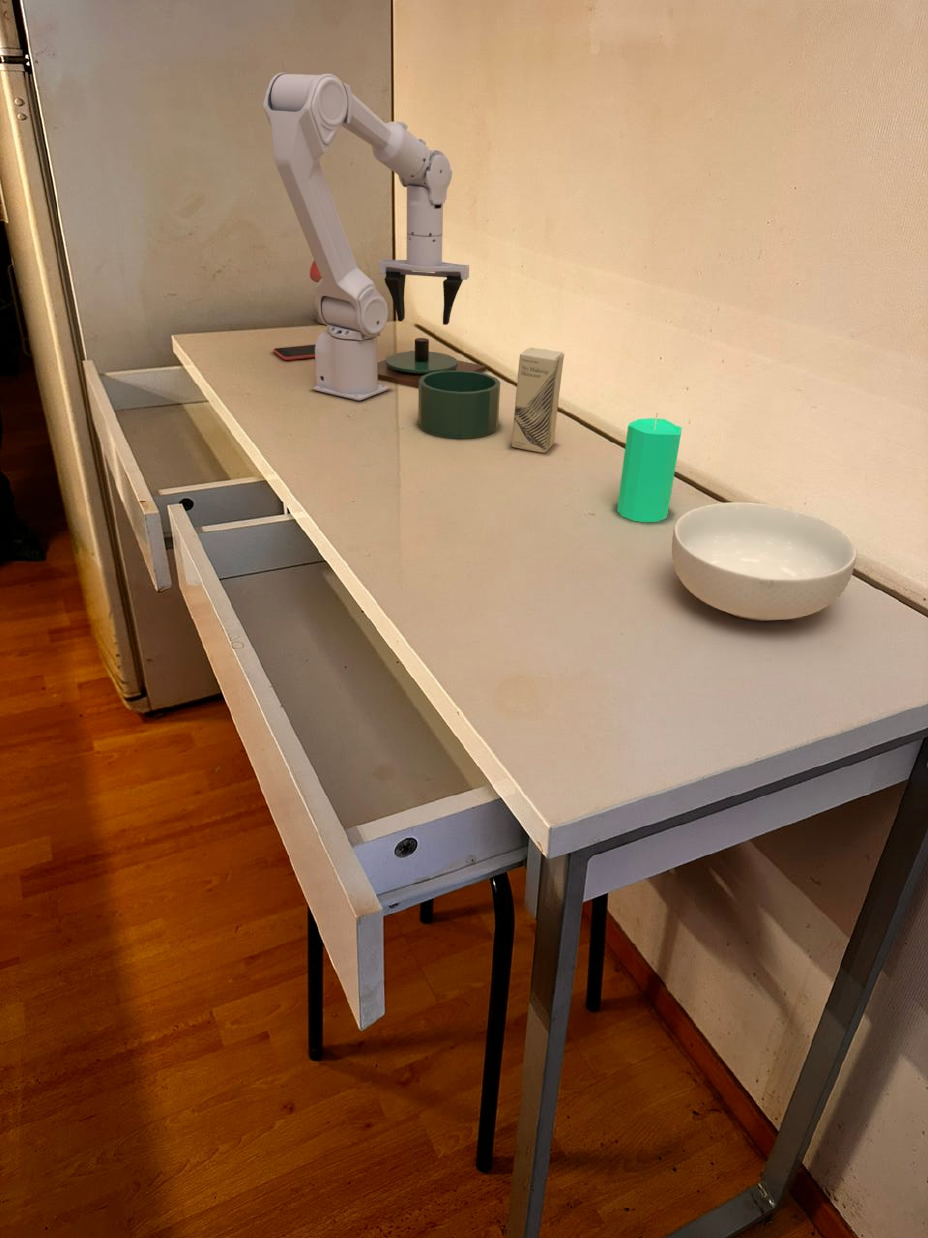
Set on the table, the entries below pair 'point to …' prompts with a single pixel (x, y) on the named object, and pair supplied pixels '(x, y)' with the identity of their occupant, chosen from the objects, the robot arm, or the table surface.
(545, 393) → the box
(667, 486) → the candle
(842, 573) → the cereal bowl
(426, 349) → the lid
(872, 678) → the table surface
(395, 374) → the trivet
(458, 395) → the pot
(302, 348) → the smartphone
